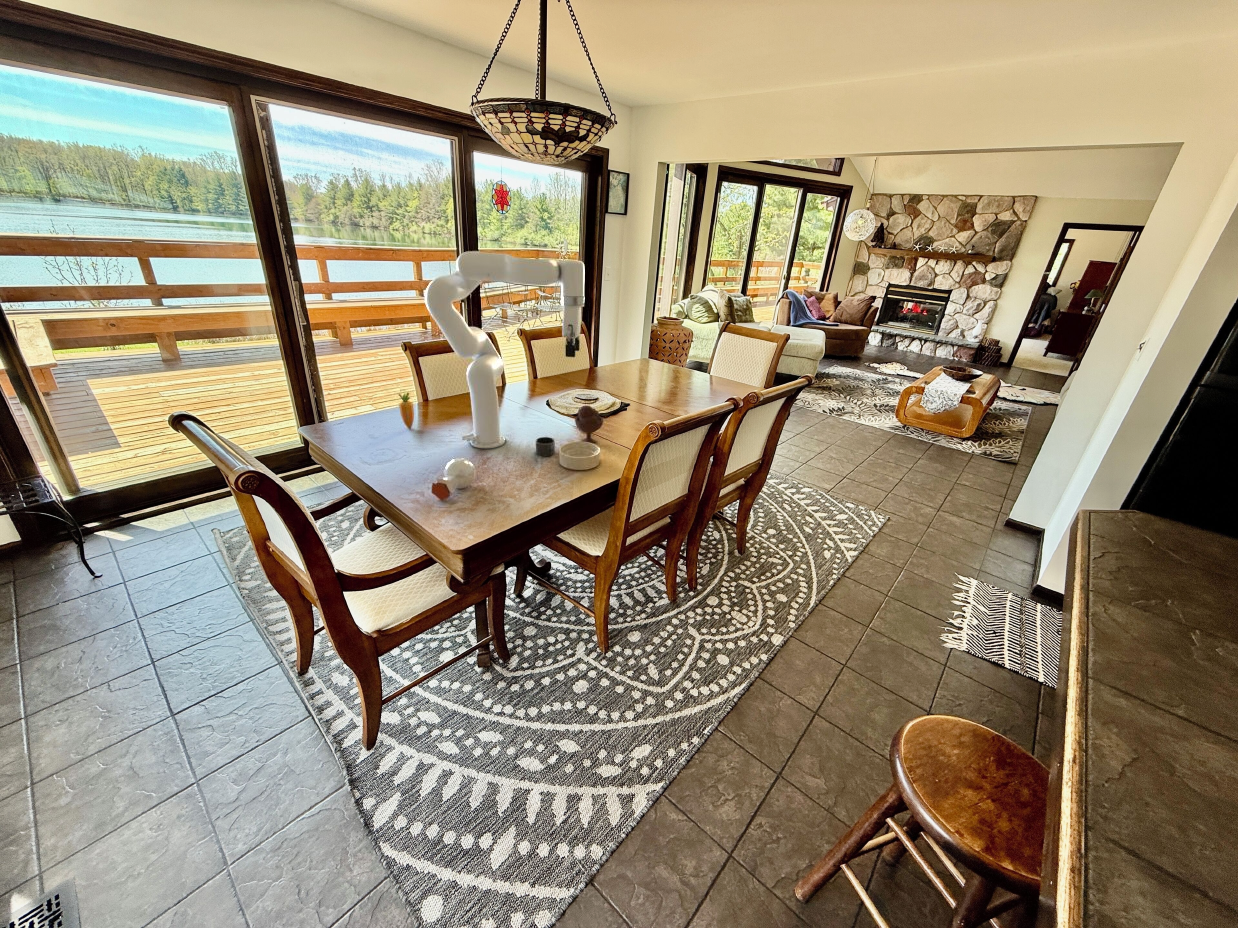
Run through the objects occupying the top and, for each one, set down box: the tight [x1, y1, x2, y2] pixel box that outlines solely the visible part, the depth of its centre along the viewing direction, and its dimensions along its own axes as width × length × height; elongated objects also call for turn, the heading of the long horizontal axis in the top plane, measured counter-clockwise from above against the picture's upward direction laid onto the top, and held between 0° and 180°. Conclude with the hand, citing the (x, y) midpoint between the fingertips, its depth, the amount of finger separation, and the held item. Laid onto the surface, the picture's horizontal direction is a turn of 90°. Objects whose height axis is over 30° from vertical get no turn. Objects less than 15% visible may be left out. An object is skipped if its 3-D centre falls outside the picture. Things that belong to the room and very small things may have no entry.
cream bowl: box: [558, 440, 601, 471], centre depth 168 cm, size 14×14×5 cm
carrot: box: [397, 391, 415, 430], centre depth 186 cm, size 5×5×15 cm
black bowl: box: [535, 436, 556, 457], centre depth 174 cm, size 7×7×5 cm
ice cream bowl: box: [574, 404, 604, 445], centre depth 183 cm, size 11×11×15 cm
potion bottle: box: [431, 457, 477, 501], centre depth 145 cm, size 9×10×15 cm
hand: (572, 353), depth 164 cm, fingers open, 9 cm apart
